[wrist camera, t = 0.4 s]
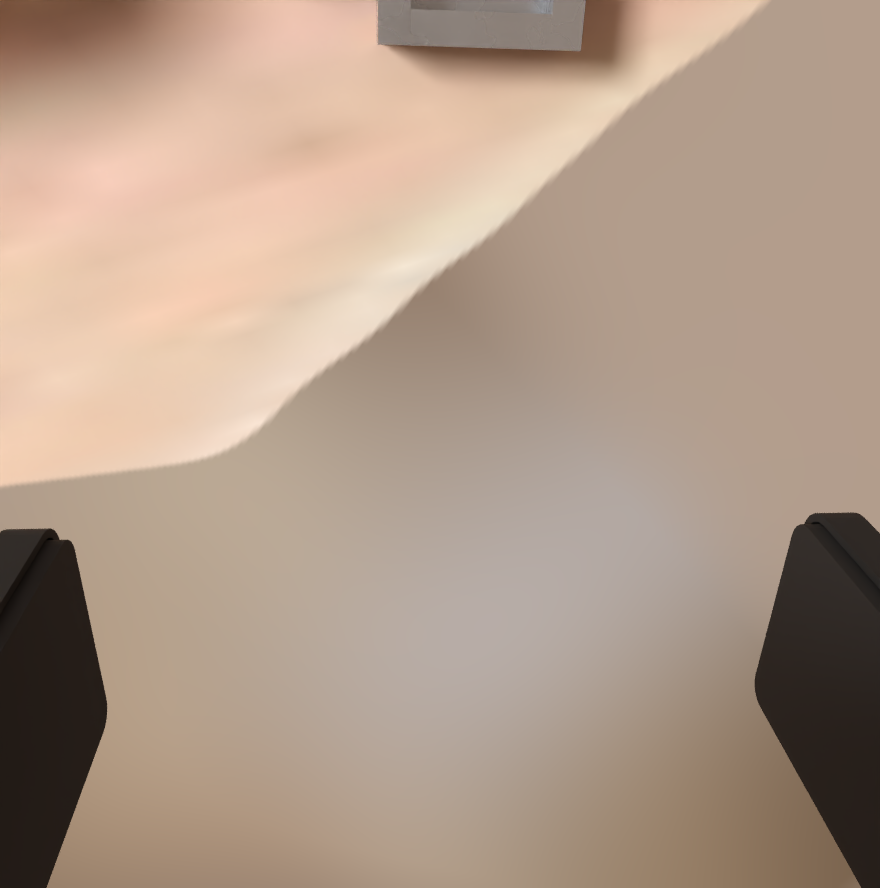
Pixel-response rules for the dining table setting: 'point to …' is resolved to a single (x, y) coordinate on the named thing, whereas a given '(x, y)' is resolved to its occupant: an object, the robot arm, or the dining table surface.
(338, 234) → the dining table surface
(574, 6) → the end link
